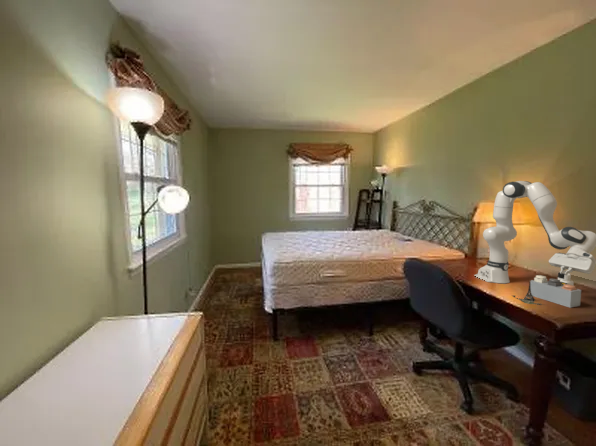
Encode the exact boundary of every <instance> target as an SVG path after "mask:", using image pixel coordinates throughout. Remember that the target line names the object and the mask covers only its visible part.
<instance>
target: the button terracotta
mask: <svg viewBox="0 0 596 446" xmlns="http://www.w3.org/2000/svg"><path fill="white" fill-rule="evenodd" d="M562 289H566V290H570V291H573V290H576V289H577V288H576V286H575V285H569V284H564V286H563V287H562Z"/></svg>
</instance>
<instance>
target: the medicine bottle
mask: <svg viewBox="0 0 596 446" xmlns="http://www.w3.org/2000/svg"><path fill="white" fill-rule="evenodd" d="M571 277H572V275H571V273H568V275H563V274H560V271H559V272H558V273H557V279H558V280H560V282H561V285H564V284H569V285H574V284H575V283H574V280H572V279H571ZM574 286H575V285H574Z"/></svg>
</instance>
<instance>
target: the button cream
mask: <svg viewBox="0 0 596 446" xmlns="http://www.w3.org/2000/svg"><path fill="white" fill-rule="evenodd" d="M533 280H534V281H536V282H540V283H546V282H547V281H548V278H547V276H546V275H541V274H538V275H537V274H536V275H535V277H533Z"/></svg>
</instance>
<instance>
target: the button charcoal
mask: <svg viewBox="0 0 596 446" xmlns="http://www.w3.org/2000/svg"><path fill="white" fill-rule="evenodd" d="M548 279H549V280H547V281H548V284H547V285H551V286H555V287H558V286H561V282H560V280H558V278H548Z"/></svg>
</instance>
